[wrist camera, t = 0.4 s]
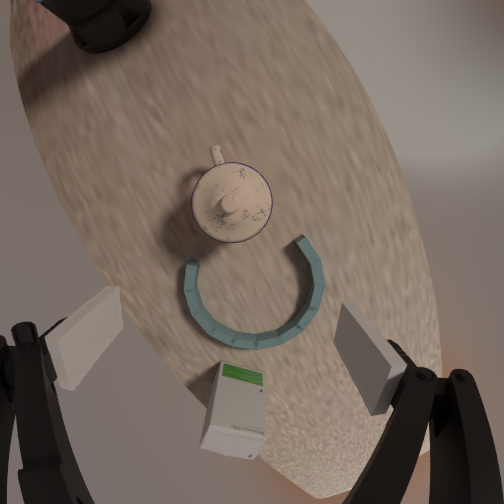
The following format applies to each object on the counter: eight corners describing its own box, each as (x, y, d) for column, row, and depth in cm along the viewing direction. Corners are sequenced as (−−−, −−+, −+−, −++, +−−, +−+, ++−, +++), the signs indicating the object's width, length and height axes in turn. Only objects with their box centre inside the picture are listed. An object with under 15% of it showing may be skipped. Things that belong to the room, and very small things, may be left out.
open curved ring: (180, 262, 41) (176, 266, 38) (312, 231, 40) (316, 234, 38) (208, 350, 44) (207, 358, 42) (327, 325, 43) (331, 332, 41)
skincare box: (265, 371, 45) (272, 437, 30) (253, 396, 46) (255, 461, 31) (219, 358, 44) (209, 424, 29) (209, 385, 46) (198, 450, 31)
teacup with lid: (275, 220, 40) (286, 233, 28) (215, 240, 40) (202, 259, 29) (249, 141, 37) (250, 121, 26) (188, 162, 38) (165, 151, 26)
